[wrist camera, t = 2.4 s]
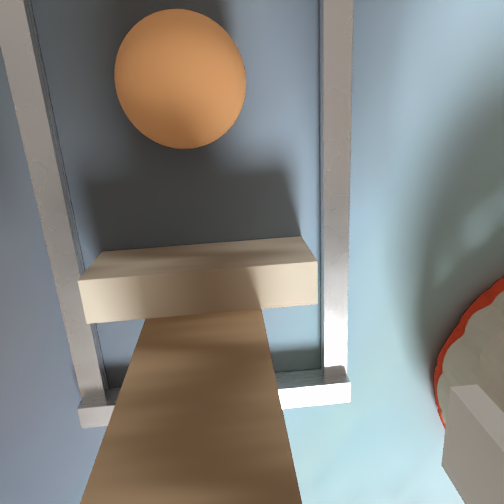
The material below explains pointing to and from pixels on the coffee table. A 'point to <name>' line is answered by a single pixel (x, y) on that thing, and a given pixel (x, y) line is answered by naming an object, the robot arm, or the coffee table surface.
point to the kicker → (198, 372)
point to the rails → (66, 238)
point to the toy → (474, 351)
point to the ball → (180, 78)
